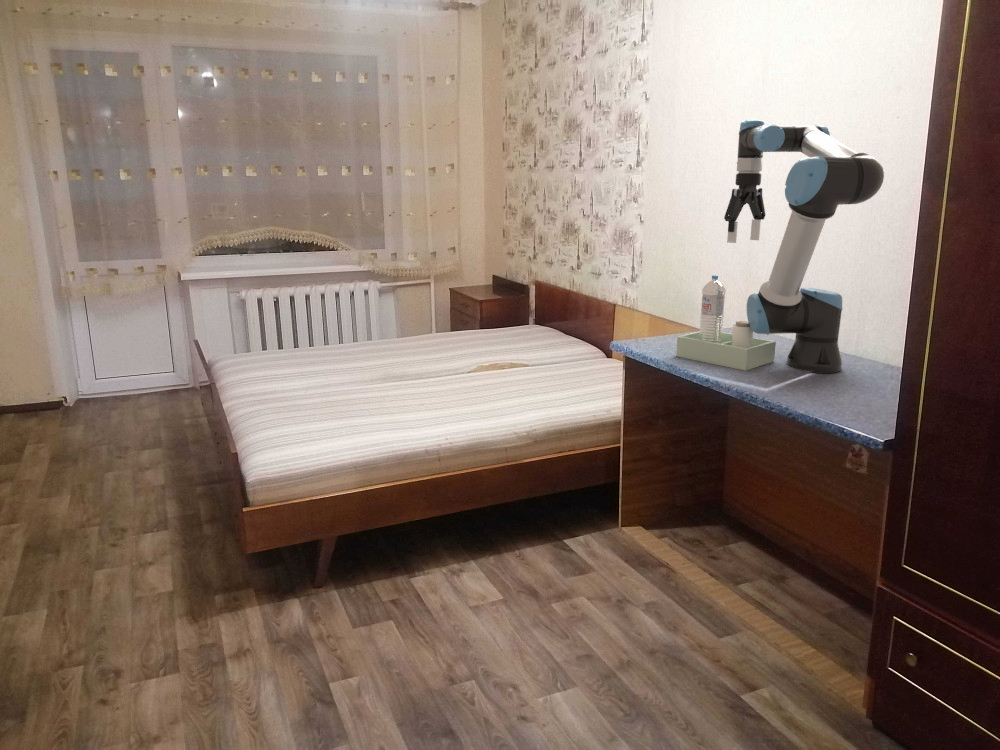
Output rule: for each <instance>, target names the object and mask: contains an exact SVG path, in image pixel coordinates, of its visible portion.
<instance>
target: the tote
mask: <svg viewBox="0 0 1000 750" xmlns="http://www.w3.org/2000/svg"><path fill="white" fill-rule="evenodd" d="M699 332H700V330H699V331H695V332H690V333H687V334H682V335H679V336H677V337H676V338H677V339H676V353H675V354H676V357H679V358H684V359H687V360H692V361H693V360H694V361H698V362H702V363H703V362H704V363H707V364H712V365H716V366H722V367H725V368H726V367H727V368H730V369H736V370H740V371H741V370H742V371H745V372H746V371H749V370H751V369H755V368H758V367H760V366H764V365H767V364H770V363H774V362H775V354H776V346H777V345H776V344H777V343H776V341H775V340H769V339H765V338H764V339H763V338H757V337H753V343H752V347H749V348H741V347H735V346H731V342H732V333H730V332H723V331H722V343H721V344H719V343H714V342H708V341H703V340H699Z"/></svg>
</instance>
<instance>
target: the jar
mask: <svg viewBox="0 0 1000 750" xmlns="http://www.w3.org/2000/svg"><path fill="white" fill-rule="evenodd" d="M731 334H732V342H731V346H735V347H741V348H749V347H752V343H753V338H754V331H753V330H752V329H751V327H750V325H749V322H748V321H746V320H745V321H744V320H743V321H742V320H739V321H735V324H733V325H732V333H731Z"/></svg>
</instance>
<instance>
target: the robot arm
mask: <svg viewBox="0 0 1000 750" xmlns="http://www.w3.org/2000/svg"><path fill="white" fill-rule="evenodd" d="M739 124H740V125H739V131H738V145H737V146H738V147H737V162H736V172H738V173H736V174H735V185H736V186H738V188H732V189H731V196H730V200H729V203H728V205H727V208H726V211H725V214H724V216H723V218H724V221H725V222H728V224H727V237H726V238H727V239H726V240H727V241H726V242H727V243H730V244H736V243H737V237H738V236H737V235H738V218H739V216H740V214H741V212H742V210H743V208H744V206H745V205H746V204H747V205H748V207H749V209H750V212H751V214H752V217H753V218H752V219H751V228H750V239H749V240H750V241H760V234H761V222H762V220H765V217H766V211H765V204H764V199H763V198H764V197H763V188H761V187H758V186H761V185H762V184H761V182H762V174H761V172H762V171H763V160H764V159H763V158H764V153H782V152H783V153H786V152H788V153H799V152H800V153H802V154H803V155H805V156H806V157H803V158H801V159H799V160H797V161H796V162H795V163H794V164H793V165H792V167H791V168H790V170H789V172H788V174H787V177H786V180H785V184H784V185H785V188H784V196H785V200H786V201H787V202H788V207H789V209H790V211H791V213H790V216H789V219H788V222H787V226H786V228H785V231H784V234H783V237H782V240H781V243H780V246H779V248H778V252H777V255H776V258H775V259H774V264H773V267H772V270H771V272H770V274H769V275H770V276H769V278H768V281H765V282H763V283H762V284H761V285H760V288H759V291H758V293H752V294H749V295H748V298H747V299H746V317H747V322H749V325H750V327H751V329H752V330H753V333H755V334H758V335H759V334H760V335H768V336H769V335H775V334H777V335H779V334H780V335H781V334H783V335H784V334H795V338H794V339H795V340H794V342H793V345H792V346H791V349H790V350H789V353H788V354H787V355H788V356H787V358H786V365H788V366H790V367H792V368H794V369H799V370H803V371H811V372H810V373H813V374H832V373H833V374H834V373H839V372H840V371H842V365H843V360H842V356H841V353H840V347H839V336H840V327H841V319H842V318H841V317H842V311H843V297H842V295H841V294H840V293H838V292H836V291H831V290H828V289H827V290H826V289H821V288H813V287H801V286H802V283H803V281H804V278H805V276H806V273H807V271H808V268H809V265H810V262H811V259H812V258H813V257H812V256H813V254H814V251H815V249H816V247H817V243H818V241H819V238H820V236H821V233H822V230H823V228H824V225H825V222H826V220H828V219H831V218H832V217H833V216H834V215H835V214H836V211H837V208H838V206H839V205H857V204H858V205H859V204H862V203H864V202H867V201H868V200H870V199H872V198H873V197H874V196H875V195H876V194H877V193H878V192H879V191H880V189H881V188H882V186H883V183H884V180H885V179H884V178H885V172H884V168H883V165H882V164H881V163H880V161H879V160H877V159H876V158H875V157H873V156H872V155H870V154H868V153H865V152H856V151H855V150H853V149H851V148H850V147H848V146H846V145H845V144H843V143H841V141H840V142H839V141H838V140H837V139H835V138H833V137H832V136H831V132H830V131H829V128H828V127H827V126H826V125H819V124H811V125H809V124H807V125H806V124H805V125H803V124H802V125H801V124H800V125H799V124H798V125H795V124H794V125H793V124H791V125H790V124H789V125H786V124H785V125H780V124H779V125H778V124H766V121H765V120H762V119H749V120H743V121H741V122H740V123H739Z"/></svg>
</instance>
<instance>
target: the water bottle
mask: <svg viewBox="0 0 1000 750" xmlns="http://www.w3.org/2000/svg"><path fill="white" fill-rule="evenodd" d="M718 279H719V275H715V274H712V275H711V280H710V281H709V282H707V283H706V284H705V285H704V286H703V287H702V292H701V295H702V298H701V309H700V310H701V311H700V321H699V331H700V332H699V331H698V332H699V340H703V341H708V342H714V343H719V344H721V343H722V332H723V329H724V327H723V326H724V316H725V315H724V309H725V298H726V297H725V296H726V292H727V291H726V287H725V286H724V285H723V283H721V281H719V280H718Z"/></svg>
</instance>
